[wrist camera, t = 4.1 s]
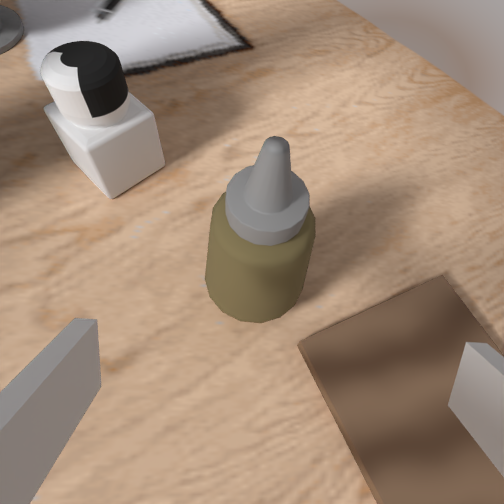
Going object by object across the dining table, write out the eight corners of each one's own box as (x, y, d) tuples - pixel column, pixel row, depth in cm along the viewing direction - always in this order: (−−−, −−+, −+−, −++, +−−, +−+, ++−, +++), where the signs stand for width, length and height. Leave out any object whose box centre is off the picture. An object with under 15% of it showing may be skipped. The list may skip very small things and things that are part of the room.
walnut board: (297, 345, 29) (300, 341, 28) (433, 281, 33) (442, 274, 32) (448, 643, 21) (462, 657, 20) (606, 515, 25) (627, 519, 24)
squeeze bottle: (194, 320, 30) (156, 191, 14) (223, 242, 34) (219, 71, 18) (284, 346, 29) (353, 244, 13) (303, 264, 33) (374, 108, 17)
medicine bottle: (128, 130, 40) (91, 19, 29) (167, 166, 38) (143, 61, 27) (72, 161, 37) (9, 52, 26) (110, 201, 35) (59, 101, 24)
